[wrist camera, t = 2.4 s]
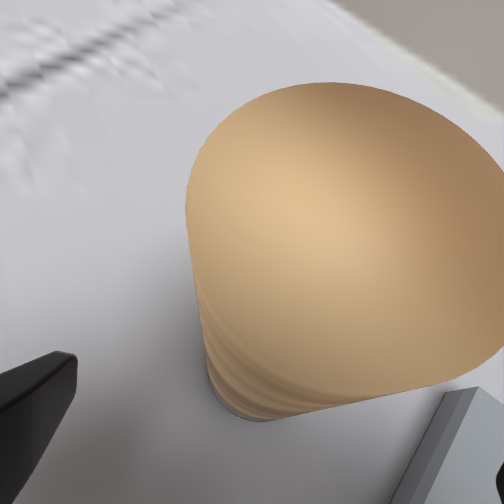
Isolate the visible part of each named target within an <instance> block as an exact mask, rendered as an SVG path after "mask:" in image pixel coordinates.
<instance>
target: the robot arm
mask: <svg viewBox="0 0 504 504" xmlns="http://www.w3.org/2000/svg"><path fill="white" fill-rule="evenodd" d="M77 366H78V360H77V357H76V355H74V354H71V353H66V352H61V351H54V352H52V353H49V354H47V355H44V356H42V357H40V358H37V359H35V360H32V361H30V362H28V363H25V364H23V365H20V366H18V367H16V368H13V369H11V370H8V371H6V372H4V373H1V374H0V504H12V503H13V501H14V500H15V498H16V497H17V495H18V494H19V492H20V491H21V489H22V488H23V487H24V485H25V483H26V482H27V480H28V479H29V477H30V476H31V474H32V473H33V471H34V469H35V467H36V466H37V464H38V462H39V460H40V459H41V457H42V455H43V453H44V451H45V450H46V448H47V446H48V444H49V442H50V440H51V439H52V437H53V435H54V433H55V431H56V429H57V428H58V426H59V424H60V422H61V420H62V418H63V417H64V415H65V413H66V411H67V409H68V407H69V406H70V404H71V402H72V400H73V398H74V396H75V392H76V387H77ZM496 488H497V491H498V494H499V497H500V500H501V503H502V504H504V462H503V464H502V465H501V467H500V469H499V471H498V473H497V475H496Z"/></svg>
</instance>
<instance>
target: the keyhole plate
mask: <svg viewBox="0 0 504 504" xmlns="http://www.w3.org/2000/svg"><path fill="white" fill-rule="evenodd" d="M503 462H504V405H503V404H502V403H500V402H499V401H498V400H496V399H495V398H494V397H492V396H491V395H489V394H488V393H487V392H485V391H484V390H483V389H481V388H480V387H473V388H467V389H462V390H456V391H450V392H446V393H445V395H444V397H443V399H442V401H441V403H440V405H439V407H438V409H437V411H436V413H435V415H434V417H433V419H432V421H431V423H430V425H429V427H428V429H427V431H426V433H425V435H424V437H423V439H422V441H421V443H420V445H419V447H418V449H417V451H416V453H415V455H414V457H413V459H412V461H411V463H410V465H409V467H408V469H407V471H406V473H405V475H404V477H403V479H402V481H401V483H400V485H399V487H398V489H397V491H396V493H395V495H394V497H393V499H392V501H391V503H390V504H502V503H501V500H500V497H499V494H498V491H497V488H496V475H497V473H498V471H499V469H500V467H501V465H502V464H503Z"/></svg>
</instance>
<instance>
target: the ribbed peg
mask: <svg viewBox="0 0 504 504" xmlns="http://www.w3.org/2000/svg"><path fill="white" fill-rule="evenodd" d="M185 209H186V224H187V233H188V240H189V247H190V253H191V260H192V267H193V274H194V281H195V287H196V294H197V301H198V308H199V315H200V322H201V328H202V335H203V342H204V349H205V356H206V362H207V368H208V376H209V380H210V384H211V387H212V389H213V391H214V393H215V395H216V397H217V398H218V400H219V401H220V402H221V403H222V405H223V406H224V407H225V408H227V409H228V410H229V411H230V412H232V413H233V414H235V415H236V416H239V417H241V418H243V419H246V420H250V421H256V422H265V421H272V420H276V419H280V418H285V417H290V416H295V415H299V414H304V413H308V412H313V411H318V410H322V409H327V408H331V407H336V406H341V405H345V404H350V403H354V402H359V401H363V400H368V399H373V398H377V397H382V396H386V395H391V394H396V393H400V392H405V391H409V390H414V389H418V388H423V387H428V386H432V385H435V384H438V383H442V382H445V381H448V380H451V379H455V378H457V377H459V376H461V375H463V374H465V373H467V372H469V371H471V370H473V369H475V368H477V367H478V366H480V365H481V364H482V363H484V362H485V361H486V360H488V359H489V358H490V357H492V356H493V355H494V354H496V353H497V351H498V350H499V349H500V348H501V347H502V346H503V345H504V172H503V171H502V169H501V168H500V167H499V166H498V164H497V163H496V162H495V161H494V160H493V158H492V157H491V156H490V155H489V154H488V153H487V152H486V151H485V150H484V149H483V148H482V147H481V146H480V145H479V144H478V143H477V142H476V141H475V140H474V139H473V138H472V137H471V136H469V135H468V134H467V133H466V132H465V131H463V130H462V129H461V128H460V127H458V126H457V125H455V124H454V123H453V122H451V121H450V120H448V119H447V118H445V117H444V116H442V115H440V114H439V113H437V112H435V111H433V110H431V109H430V108H428V107H426V106H424V105H422V104H420V103H417V102H415V101H413V100H411V99H409V98H406V97H403V96H400V95H398V94H395V93H392V92H389V91H385V90H381V89H377V88H373V87H369V86H363V85H356V84H348V83H334V82H331V83H310V84H302V85H295V86H291V87H287V88H282V89H279V90H276V91H273V92H270V93H267V94H264V95H262V96H260V97H258V98H256V99H254V100H252V101H250V102H248V103H246V104H245V105H243V106H242V107H240V108H239V109H237V110H236V111H234V112H233V113H232V114H230V115H229V116H228V117H227V118H226V119H225V120H224V121H222V122H221V123H220V124H219V125H218V126H217V128H216V129H215V130H214V131H213V132H212V133H211V135H210V136H209V137H208V138H207V140H206V142H205V143H204V145H203V146H202V148H201V150H200V151H199V153H198V155H197V158H196V160H195V163H194V165H193V167H192V170H191V174H190V178H189V182H188V186H187V194H186V206H185Z"/></svg>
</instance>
